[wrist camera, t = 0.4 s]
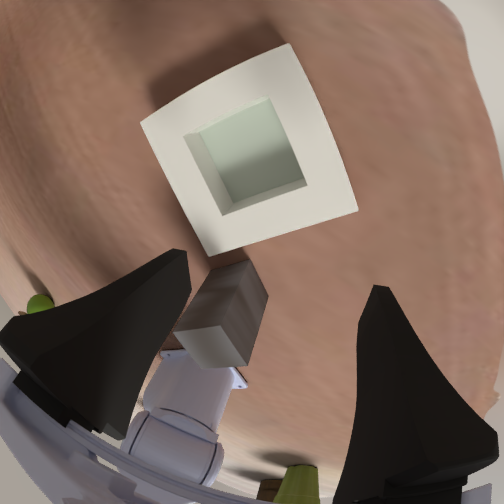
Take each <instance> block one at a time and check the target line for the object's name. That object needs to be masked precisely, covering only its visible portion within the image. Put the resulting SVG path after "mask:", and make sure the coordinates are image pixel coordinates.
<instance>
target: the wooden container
mask: <svg viewBox="0 0 504 504" xmlns="http://www.w3.org/2000/svg"><path fill="white" fill-rule="evenodd" d="M282 481H283V480H263V481H261V483H260V487H259V491H258V494H257V498H256V500H262V501H267V502H273V500H274V498H275V496H276V495H277V493H278V491H279V488H280V486H281V484H282Z"/></svg>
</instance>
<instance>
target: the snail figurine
mask: <svg viewBox="0 0 504 504" xmlns="http://www.w3.org/2000/svg"><path fill="white" fill-rule="evenodd" d="M51 308H54V304H53V302H52V301H51V299H50V298H49V297H47V296H45V295H42V294H37V295H34V296H33V297H32V298H31V299H30V300H29V302H28V304H27V313H25V312H22V311H19V312H18V313H19V315H25V314H30V313H35V312H39V311H43V310H47V309H51Z"/></svg>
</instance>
